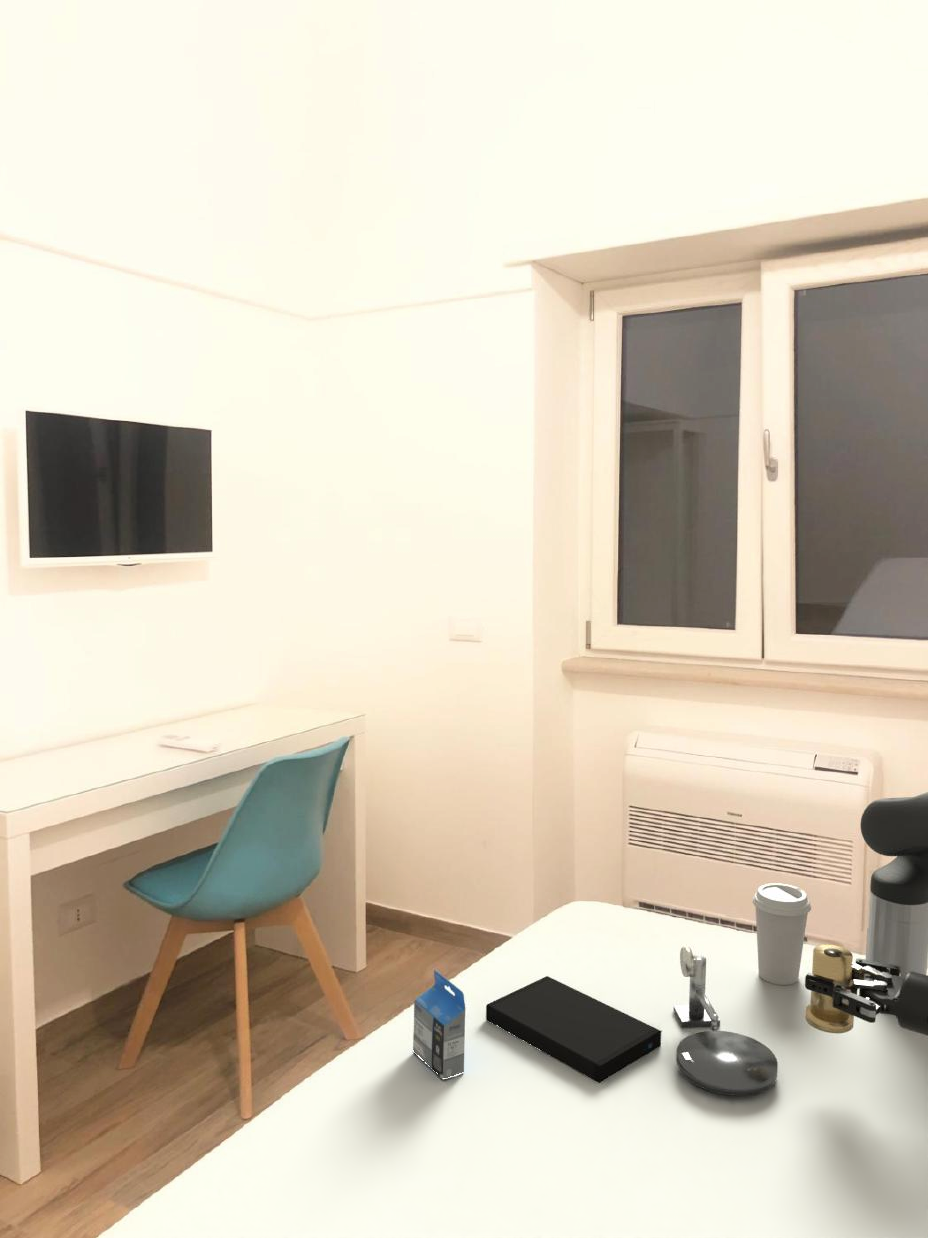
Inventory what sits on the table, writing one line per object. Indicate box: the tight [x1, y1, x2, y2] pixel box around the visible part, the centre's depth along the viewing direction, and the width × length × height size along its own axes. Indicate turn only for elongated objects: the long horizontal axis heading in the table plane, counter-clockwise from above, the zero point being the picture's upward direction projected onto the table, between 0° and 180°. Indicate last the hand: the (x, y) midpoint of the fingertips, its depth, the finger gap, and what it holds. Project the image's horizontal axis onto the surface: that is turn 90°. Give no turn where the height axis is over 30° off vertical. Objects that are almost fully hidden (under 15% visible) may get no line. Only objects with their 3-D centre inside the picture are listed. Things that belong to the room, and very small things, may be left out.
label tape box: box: [412, 969, 466, 1079], centre depth 150 cm, size 9×4×12 cm, turn 32°
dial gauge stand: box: [673, 946, 721, 1031], centre depth 159 cm, size 12×6×12 cm, turn 3°
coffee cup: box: [752, 882, 812, 986], centre depth 176 cm, size 10×10×15 cm
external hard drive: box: [485, 975, 662, 1084], centre depth 159 cm, size 14×23×3 cm, turn 42°
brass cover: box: [805, 944, 855, 1034], centre depth 146 cm, size 6×6×10 cm
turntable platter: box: [675, 1030, 779, 1096], centre depth 148 cm, size 14×14×2 cm
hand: (813, 972), depth 147 cm, fingers closed on brass cover, 5 cm apart
